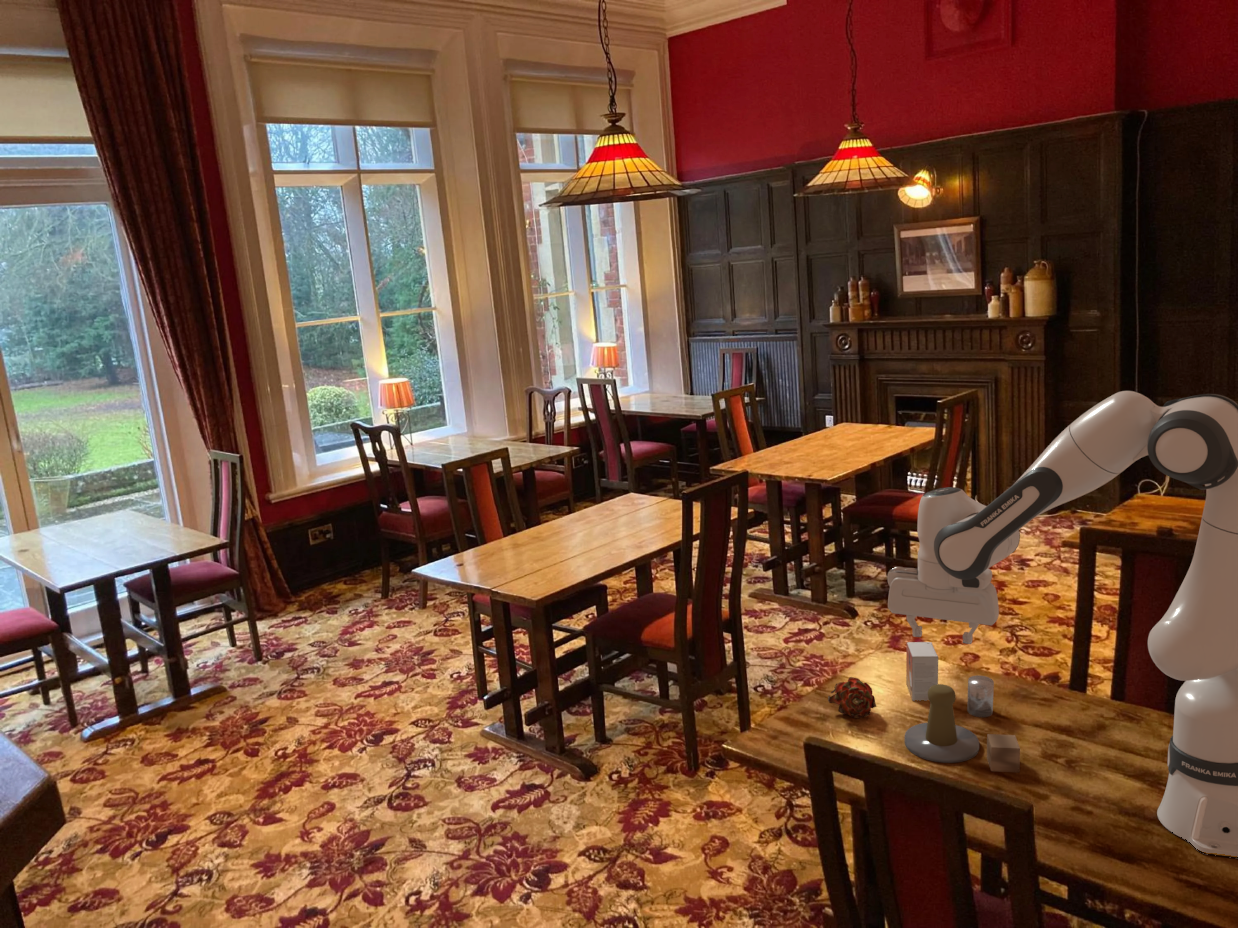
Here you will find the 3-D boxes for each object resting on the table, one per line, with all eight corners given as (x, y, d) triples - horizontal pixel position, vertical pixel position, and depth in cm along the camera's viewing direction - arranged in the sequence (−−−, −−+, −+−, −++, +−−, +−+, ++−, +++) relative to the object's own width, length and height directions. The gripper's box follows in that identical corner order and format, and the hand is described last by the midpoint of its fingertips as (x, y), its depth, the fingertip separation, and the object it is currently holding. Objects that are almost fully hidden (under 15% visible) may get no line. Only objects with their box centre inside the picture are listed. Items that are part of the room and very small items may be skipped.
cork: (953, 730, 195) (953, 679, 192) (961, 745, 189) (961, 693, 186) (922, 731, 195) (922, 680, 193) (929, 746, 189) (929, 694, 187)
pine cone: (866, 734, 201) (837, 717, 212) (893, 704, 202) (863, 689, 214) (842, 707, 199) (814, 691, 211) (869, 677, 201) (840, 663, 212)
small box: (906, 684, 218) (905, 641, 216) (931, 684, 217) (931, 641, 215) (911, 701, 211) (911, 656, 208) (938, 701, 210) (938, 656, 208)
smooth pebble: (985, 735, 194) (985, 730, 194) (970, 768, 183) (970, 763, 182) (914, 722, 201) (914, 716, 201) (896, 753, 190) (896, 747, 189)
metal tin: (996, 709, 204) (997, 679, 202) (986, 719, 201) (988, 688, 199) (972, 702, 207) (974, 673, 206) (963, 712, 204) (964, 682, 202)
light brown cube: (1014, 758, 185) (1015, 735, 184) (1019, 772, 180) (1020, 748, 179) (986, 757, 186) (987, 733, 185) (990, 771, 181) (991, 747, 180)
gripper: (882, 570, 187) (883, 637, 190) (994, 581, 177) (994, 652, 179) (891, 560, 192) (892, 626, 195) (1000, 571, 182) (1000, 640, 185)
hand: (942, 639), depth 187 cm, fingers open, 8 cm apart
